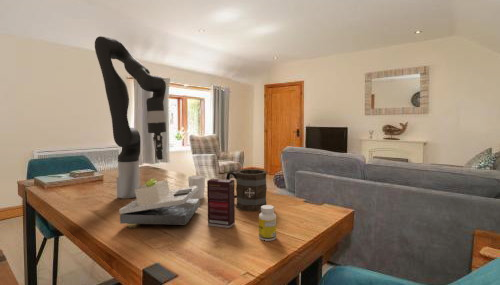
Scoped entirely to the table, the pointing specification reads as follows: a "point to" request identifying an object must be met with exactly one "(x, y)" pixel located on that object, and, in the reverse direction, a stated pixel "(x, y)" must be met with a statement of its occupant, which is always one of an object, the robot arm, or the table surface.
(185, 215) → the grey tray
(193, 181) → the white cup
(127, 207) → the plate
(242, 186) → the mug
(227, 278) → the table surface
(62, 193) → the table surface
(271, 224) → the supplement bottle
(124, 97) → the robot arm
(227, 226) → the supplement box
